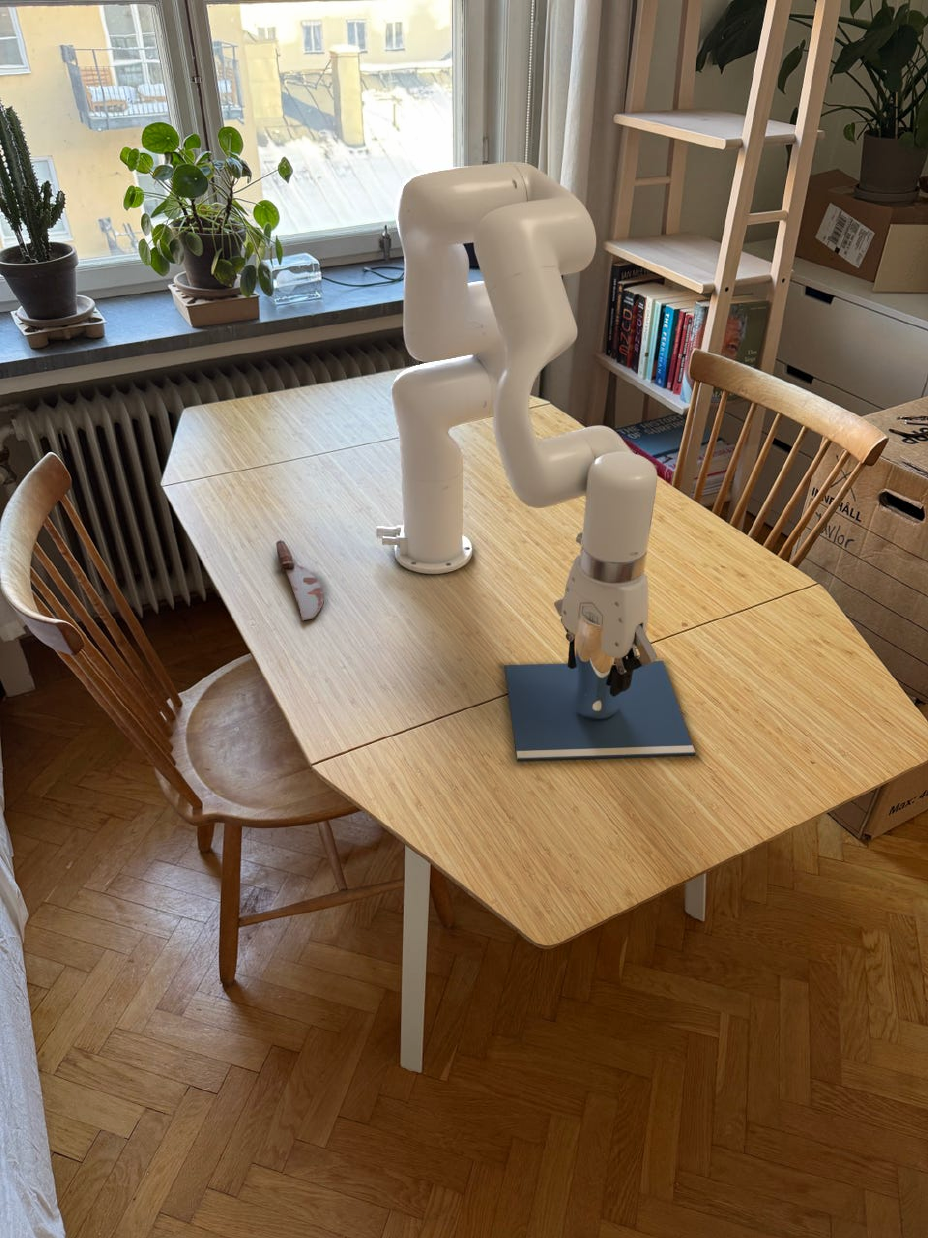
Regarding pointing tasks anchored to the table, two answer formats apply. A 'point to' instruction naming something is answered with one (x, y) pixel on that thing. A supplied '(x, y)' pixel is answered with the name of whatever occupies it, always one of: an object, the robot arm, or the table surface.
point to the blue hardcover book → (565, 734)
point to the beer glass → (593, 673)
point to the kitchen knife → (301, 584)
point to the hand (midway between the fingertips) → (598, 676)
